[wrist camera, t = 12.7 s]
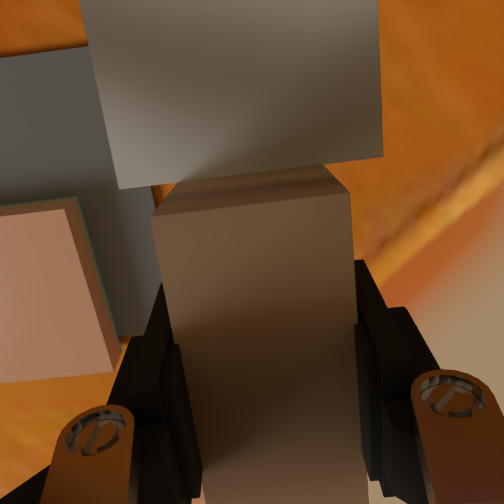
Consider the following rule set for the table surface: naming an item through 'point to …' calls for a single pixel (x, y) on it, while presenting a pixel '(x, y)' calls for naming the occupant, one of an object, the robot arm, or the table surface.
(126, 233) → the mat
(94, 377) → the table surface
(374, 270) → the table surface
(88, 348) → the tile
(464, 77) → the table surface
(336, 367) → the brown piece
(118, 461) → the robot arm
